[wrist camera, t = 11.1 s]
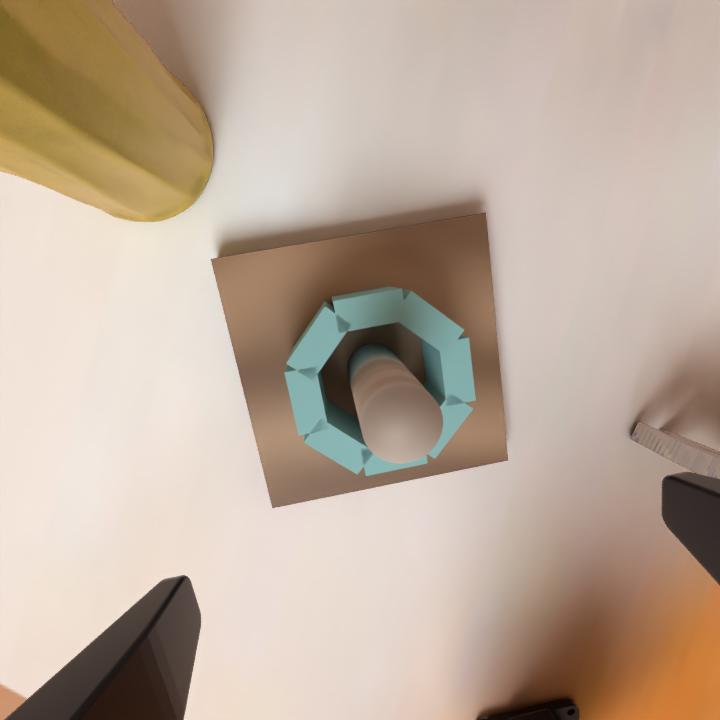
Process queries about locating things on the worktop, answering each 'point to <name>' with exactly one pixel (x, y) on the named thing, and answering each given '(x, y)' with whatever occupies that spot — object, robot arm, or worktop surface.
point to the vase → (97, 111)
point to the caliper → (679, 450)
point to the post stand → (365, 352)
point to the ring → (363, 310)
